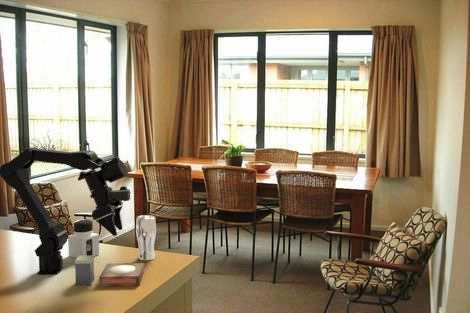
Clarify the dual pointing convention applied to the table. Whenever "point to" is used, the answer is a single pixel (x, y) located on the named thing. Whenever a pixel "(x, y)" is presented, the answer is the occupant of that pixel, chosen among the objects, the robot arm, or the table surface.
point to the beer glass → (146, 236)
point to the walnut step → (122, 274)
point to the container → (83, 240)
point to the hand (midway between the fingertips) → (118, 232)
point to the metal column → (84, 270)
